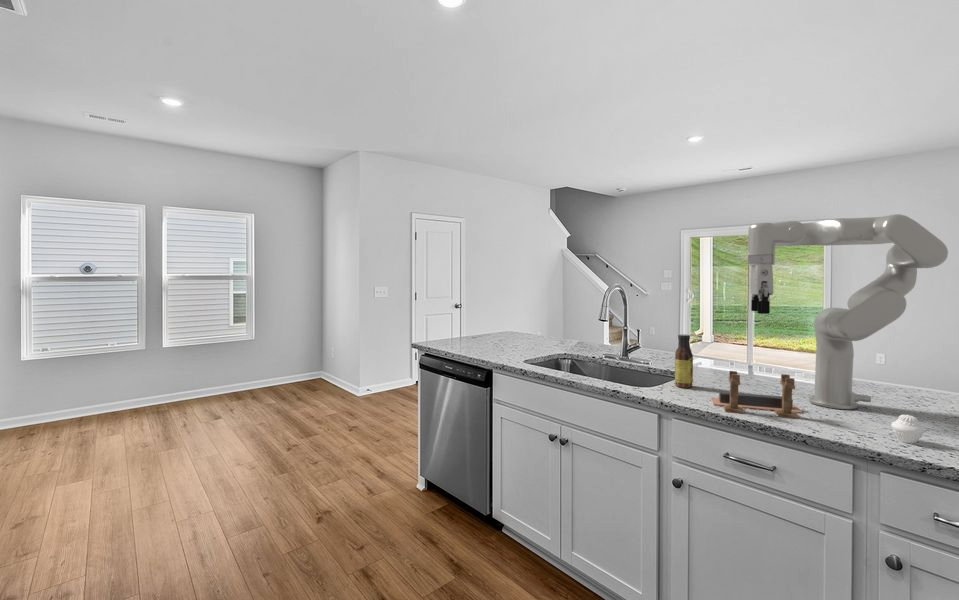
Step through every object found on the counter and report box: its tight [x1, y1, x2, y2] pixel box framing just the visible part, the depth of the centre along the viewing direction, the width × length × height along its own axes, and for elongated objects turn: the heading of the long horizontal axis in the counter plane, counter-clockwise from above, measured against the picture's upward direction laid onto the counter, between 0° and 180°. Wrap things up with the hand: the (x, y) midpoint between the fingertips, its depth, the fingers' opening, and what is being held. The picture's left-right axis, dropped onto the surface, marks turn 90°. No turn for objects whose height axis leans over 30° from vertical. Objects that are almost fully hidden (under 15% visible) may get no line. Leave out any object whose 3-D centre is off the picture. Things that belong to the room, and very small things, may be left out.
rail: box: [718, 391, 794, 408], centre depth 143 cm, size 20×3×3 cm, turn 68°
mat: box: [711, 397, 803, 414], centre depth 144 cm, size 24×8×1 cm, turn 68°
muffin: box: [890, 414, 926, 445], centre depth 113 cm, size 6×6×7 cm
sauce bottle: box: [674, 333, 694, 389], centre depth 168 cm, size 6×6×20 cm
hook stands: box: [723, 370, 799, 419], centre depth 136 cm, size 19×6×12 cm, turn 68°
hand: (760, 312), depth 147 cm, fingers open, 9 cm apart
